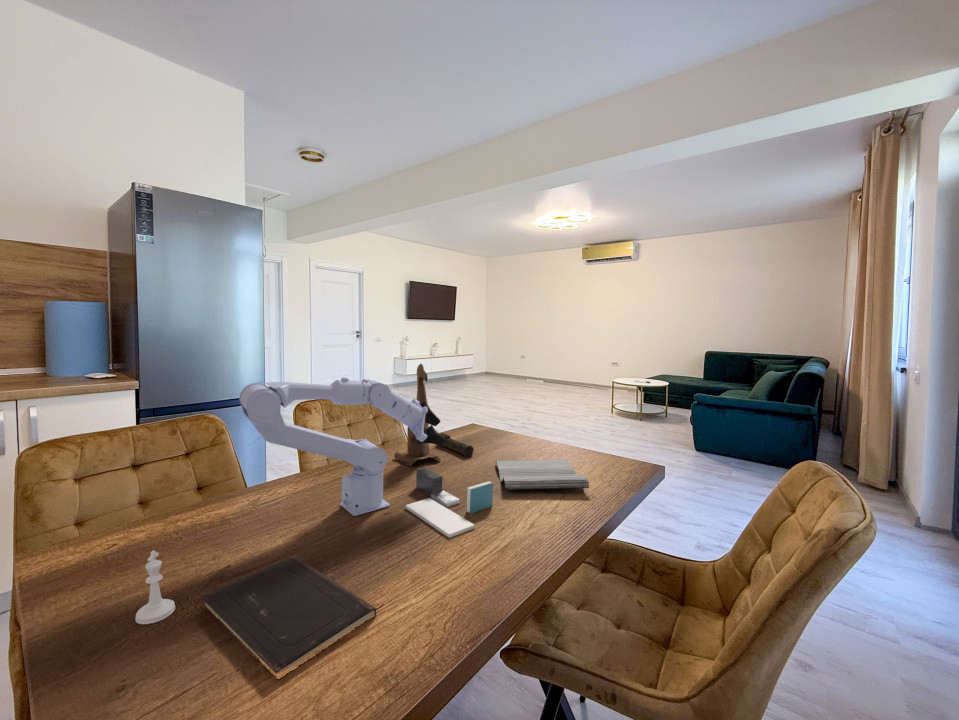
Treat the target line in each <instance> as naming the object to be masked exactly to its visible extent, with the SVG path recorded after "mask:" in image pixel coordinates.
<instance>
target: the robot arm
mask: <svg viewBox="0 0 959 720" xmlns="http://www.w3.org/2000/svg"><path fill="white" fill-rule="evenodd" d="M238 399H239V404H240V406H241V409H242V412H243V414H244V415H245V417H246V418H247V419H248V420H249V422H250V423H251V424H252V426H253V427H254V428H255V429H256V431H257V432H258V433H259V434H260V435H261V437H262V438H263V439H264V440H265V441H266V442H268V443H270V444H274V445H279V446H283V447H287V448H290V449H295V450H300V451H304V452H308V453H311V454H316V455H320V456H323V457H329V458H332V459H336V460H340V461H344V462H347V463H348V464H351V465H353V467H352V471H351V472H349V473H347V474H345V475H343V476H342V478H341V502H340V506H341V507H342V508H343V509H345V510H346V511H347V512H348V513H349V514H351V516H353V517H357V516H360V515H364V514H368V513H371V512H374V511H376V510H380V509H384V508H389V507H390V505H391V504H390V503H389V502H387V501H386V500H385V499H384V470H385V468H386V466H387V464H388V459H389V458H388V454H387V452H386V450H384V449H383V448H381V447H378V446H377V445H375V444H374V443H372V442H371V441H370V440H369V439H366V438H360V439H351V438H348V439H347V438H342V437H339V436H335V435H332V434H329V433H325V432H321V431H317V430H313V429H310V428H306V427H302V426H300V425H295V424H292V423H288V422H285V421H284V419H283V415H282V413H281V408H282V407H283V408H286V407H288V406H289V405H290V404H291V403H293V402H294V401H301V400H304V401H305V400H309V401H310V400H330V401H331V403H332V404H333V405H336V406H341V405H343V406H348V405H349V406H351V405H352V406H362V405H365V404H368V405H370V406H372V407H374V408H378V409H379V410H381V412H382V413H384V414H386V415H387V416H389V417H391V418H393V419H395V420H397V422H399V423H401V424H403V425H404V426H407V428H408V427H409V428H410V430H411V431H412V432H413V433H414V434H415V436H416V440H417V443H419V444H423V443H429V444H432V445H438V446H441V445H442V444H443V443H444V442H445V441H446V440H445V438H444V437H443V436H442V435H440V434H441V433H439V432H438V431H437V429H435V427H437V426H438V425H439V424H440V423H441V419H440V418H439V417H438V416H437V415H436V414H435V413H434V412H433V411H432V409H431V407H430V406H429V404H428V401H427V402H425V401H424V402H423V403H421V404H420V402H419V401H418V400H416V399H417V398H413V399H411V401H410V400H408V399H407V398H406V397H404V396H402V395H400V394H399V393H397V392H395V391H393V390H392V389H390V387H389V385H387V384H384V383H382V382H379V381H376V380H371V379H367V378H363V379H362V380H350V379H349V378H347V377H341V378H340V379H335V380H334V381H333V382H332V383H330V384H316V383H306V382H305V383H304V382H303V383H302V382H291V381H289V382H288V381H270V382H265V383H264V384H263V383H261V382H253V383H250V384H247V385H245V386H244V387H243V389H242V390H241V391H240V393H239V398H238ZM425 422H426V423H428V424H429V428H428V429H427V428H426V429H425V428H424V423H425Z"/></svg>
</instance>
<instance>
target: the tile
mask: <svg viewBox="0 0 959 720" xmlns="http://www.w3.org/2000/svg"><path fill="white" fill-rule="evenodd" d="M466 493H467V494H466V512H467V513H469V514H473V513H476V512H480V511H481V510H482V511H483V510H485V509H488V508H491V507H493V498H494V497H493V496H494V483H493V482H492V481H485V482H482V483H479V484H478V483H477V484H476V485H472V486H468V487H467V491H466Z"/></svg>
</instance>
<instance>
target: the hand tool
mask: <svg viewBox="0 0 959 720" xmlns="http://www.w3.org/2000/svg"><path fill="white" fill-rule="evenodd" d="M439 434H440V435H442V436H443V437H444V438H445V440H446V441H445V442H444V443H443V444H442V445H440V446H441V447H442V446H443V447H442V448H444V447H447V448H448V449H450V450H452V451H454V452H456V453H459V454H460V455H463V457H464V458H468V457H469V458H470V457H472V456H473V454H474V447H473V446H472V445H468V444H466V443H464V442H460V441H457V440H456V439H453V438H452V437H451V435H450V434H447V433H443V432H441V433H439Z"/></svg>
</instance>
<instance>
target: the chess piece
mask: <svg viewBox="0 0 959 720" xmlns="http://www.w3.org/2000/svg"><path fill="white" fill-rule="evenodd" d="M159 555H160V553H159V552H156V550H152V551H150V556H149V557H148V558H147V563H146V564H145V566H144V567H145V570H146V571H147V573H148V575H149V576H148V577H146V579H145V584H150V585H149V586H150V587H149V595H148V603H147V604H144V605H143V606H141V607H140V608H139V609H138V610H137V611H136V614H135V618H134V619H135V622H136V623H137V624H139V625H150V623H151V624H154V623H157V622H160V621H163V620H165V619H166V618H168V617H169V616H170V615H172V613H174V611H175V610H176V605H175V601H174V600H172V599H169V598H162V594H161V589H160V584H159V582H160V581H161V580H163V578H164V576H163V574H161V573H160V571H161V570H160V569H161V567H162V563H163V561H162V560H160V559H159V560H158V559H157V557H159Z"/></svg>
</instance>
